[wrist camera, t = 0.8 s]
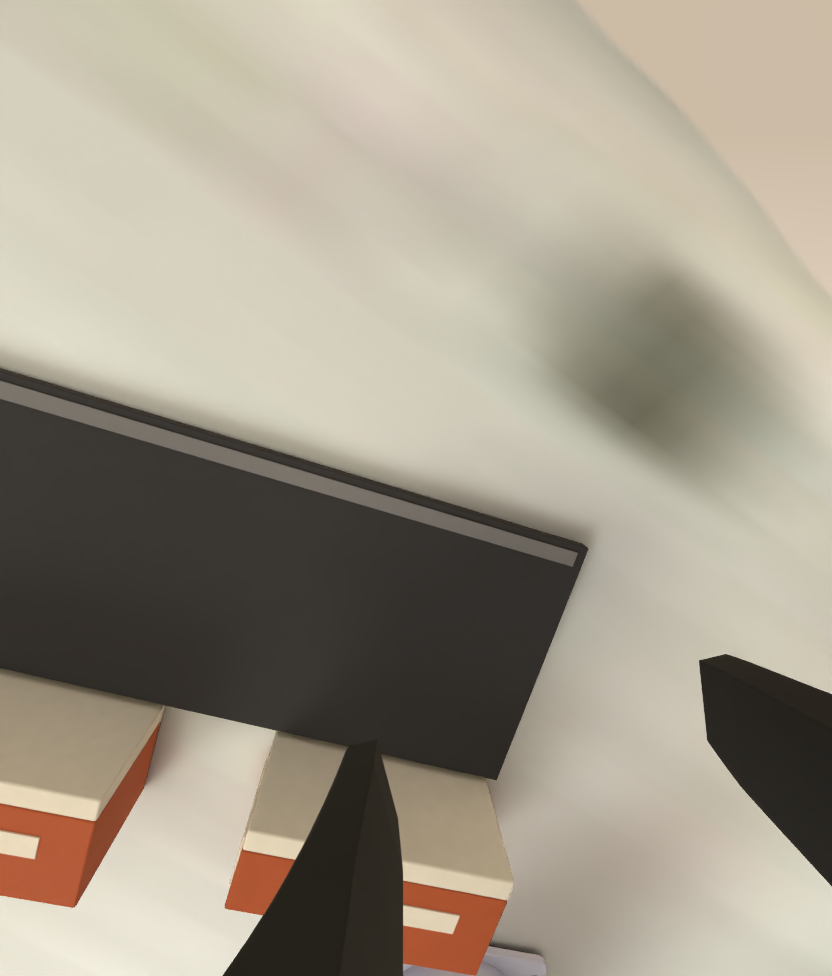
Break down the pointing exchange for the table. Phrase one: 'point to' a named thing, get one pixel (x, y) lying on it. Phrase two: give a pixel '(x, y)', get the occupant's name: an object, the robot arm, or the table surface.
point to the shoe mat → (265, 584)
